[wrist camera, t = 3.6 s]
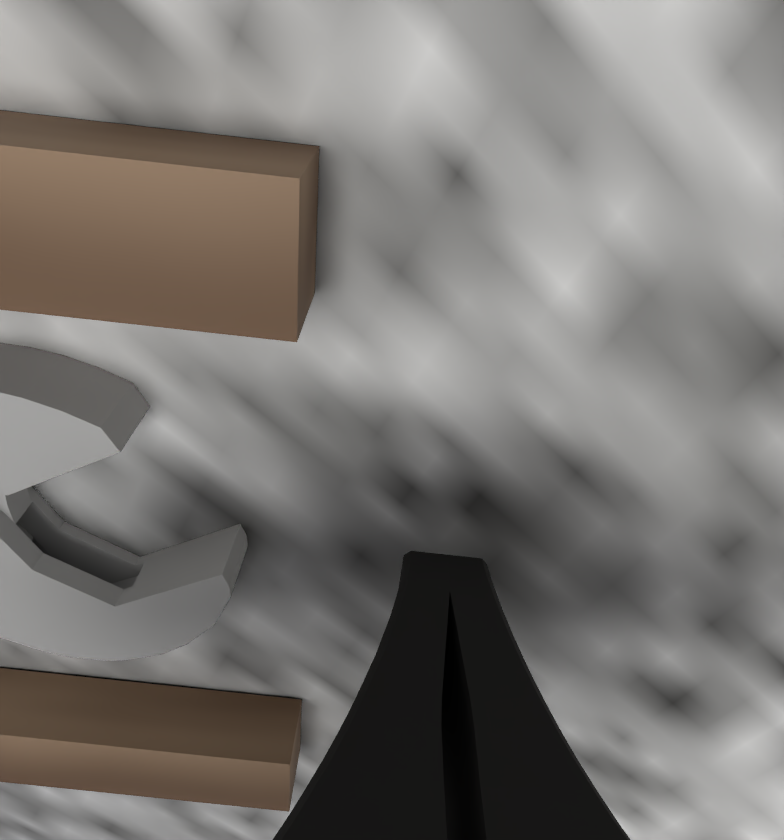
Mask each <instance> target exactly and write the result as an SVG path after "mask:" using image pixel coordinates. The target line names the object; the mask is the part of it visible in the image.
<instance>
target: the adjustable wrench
mask: <svg viewBox="0 0 784 840" xmlns="http://www.w3.org/2000/svg"><path fill="white" fill-rule="evenodd" d="M149 407H150V405H149V404H148V403H147V401H146V400H145V398H144V397H143V396H142V394H141V393H140V392H139V390H138V389H137V388H136V386H135V385H134V384H133V383H132V382H130V381H127V380H125V379H123V378H121V377H119V376H116V375H114V374H112V373H110V372H107V371H105V370H103V369H101V368H98V367H96V366H93V365H90V364H87V363H84V362H81V361H78V360H75V359H72V358H69V357H66V356H63V355H60V354H55V353H51V352H47V351H43V350H39V349H35V348H31V347H26V346H19V345H12V344H5V343H0V638H2V639H5V640H9V641H12V642H15V643H18V644H21V645H24V646H27V647H31V648H34V649H37V650H40V651H43V652H47V653H52V654H57V655H62V656H67V657H74V658H82V659H91V660H105V661H119V660H132V659H137V658H143V657H149V656H155V655H161V654H164V653H167V652H169V651H171V650H174V649H176V648H179V647H181V646H184V645H186V644H188V643H189V642H191V641H192V640H194V639H195V638H196V637H198V636H199V635H201V634H202V633H204V632H205V631H206V630H208V629H209V628H211V627H212V626H214V625H215V624H216V622H217V620H218V618H219V617H220V615H221V613H222V612H223V610H224V608H225V606H226V605H227V603H228V601H229V599H230V598H231V595H232V592H233V589H234V586H235V583H236V580H237V577H238V574H239V571H240V568H241V565H242V562H243V559H244V556H245V553H246V550H247V547H248V542H247V535H246V533H245V531H244V529H243V528H242V526H241V524H238V525H235V526H232V527H229V528H225V529H222V530H219V531H216V532H213V533H210V534H207V535H204V536H201V537H198V538H195V539H192V540H189V541H186V542H183V543H180V544H177V545H174V546H171V547H168V548H165V549H162V550H159V551H156V552H153V553H150V554H147V555H144V556H141V557H139V556H137V555H135V554H133V553H131V552H129V551H126V550H124V549H122V548H120V547H118V546H116V545H114V544H111V543H109V542H107V541H105V540H103V539H101V538H99V537H96V536H94V535H92V534H90V533H88V532H86V531H83V530H81V529H79V528H77V527H75V526H73V525H71V524H68V523H66V522H64V521H63V520H62V519H61V517H60V516H59V515H58V514H57V513H56V512H55V511H54V510H53V509H52V508H51V506H50V505H49V504H48V503H47V502H46V501H45V500H44V499H43V498H42V497H41V496H40V494H39V493H38V492H37V491H36V490H35V489H34V488H33V487H32V486H34V485H36V484H39V483H41V482H44V481H47V480H49V479H52V478H55V477H57V476H60V475H62V474H65V473H68V472H70V471H73V470H75V469H78V468H81V467H83V466H86V465H89V464H91V463H94V462H96V461H99V460H102V459H104V458H107V457H109V456H112V455H115V454H117V453H120V452H121V451H122V449H123V447H124V446H125V444H126V443H127V441H128V440H129V438H130V437H131V435H132V434H133V432H134V430H135V429H136V427H137V426H138V424H139V423H140V421H141V420H142V418H143V417H144V415H145V413H146V412H147V410H148V409H149Z"/></svg>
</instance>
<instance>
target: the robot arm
mask: <svg viewBox="0 0 784 840" xmlns="http://www.w3.org/2000/svg"><path fill="white" fill-rule="evenodd" d="M273 840H630V838H629V837H628V836H627V834H626V833H625V832H624V830H623V829H622V827H621V826H620V825H619V823H618V822H617V820H616V819H615V817H614V816H613V814H612V813H611V811H610V810H609V808H608V807H607V805H606V804H605V802H604V801H603V799H602V798H601V796H600V795H599V793H598V792H597V790H596V789H595V787H594V785H593V784H592V782H591V781H590V779H589V777H588V776H587V774H586V772H585V771H584V769H583V768H582V766H581V764H580V763H579V761H578V760H577V758H576V756H575V755H574V753H573V751H572V750H571V748H570V746H569V744H568V743H567V741H566V739H565V737H564V736H563V734H562V732H561V730H560V729H559V727H558V725H557V723H556V721H555V719H554V718H553V716H552V714H551V712H550V710H549V708H548V706H547V705H546V703H545V701H544V699H543V697H542V695H541V693H540V691H539V689H538V687H537V685H536V683H535V681H534V679H533V677H532V675H531V673H530V671H529V669H528V667H527V664H526V662H525V660H524V658H523V656H522V654H521V652H520V650H519V647H518V645H517V643H516V641H515V639H514V636H513V634H512V632H511V629H510V627H509V624H508V622H507V620H506V617H505V615H504V612H503V610H502V607H501V605H500V602H499V599H498V597H497V594H496V591H495V588H494V586H493V583H492V580H491V577H490V573H489V570H488V567H487V564H486V563H485V562H484V561H483V559H481V558H471V557H462V556H453V555H444V554H434V553H425V552H416V551H410V552H409V553H407V554H405V555H404V557H403V564H402V570H401V577H400V584H399V589H398V593H397V597H396V600H395V603H394V606H393V610H392V613H391V616H390V619H389V621H388V624H387V627H386V629H385V632H384V634H383V637H382V640H381V642H380V645H379V648H378V650H377V653H376V655H375V657H374V660H373V662H372V664H371V666H370V669H369V671H368V673H367V675H366V677H365V679H364V682H363V684H362V686H361V688H360V690H359V692H358V695H357V697H356V699H355V701H354V703H353V705H352V707H351V709H350V711H349V713H348V715H347V717H346V719H345V721H344V722H343V724H342V726H341V728H340V730H339V732H338V734H337V736H336V737H335V739H334V741H333V743H332V745H331V746H330V748H329V750H328V752H327V754H326V755H325V757H324V759H323V761H322V762H321V764H320V766H319V767H318V769H317V771H316V772H315V774H314V776H313V777H312V779H311V781H310V782H309V784H308V786H307V787H306V789H305V791H304V792H303V794H302V796H301V797H300V799H299V800H298V802H297V804H296V805H295V807H294V808H293V810H292V812H291V813H290V815H289V816H288V818H287V819H286V821H285V822H284V824H283V825H282V827H281V828H280V830H279V831H278V833H277V834H276V836H275V837H274V839H273Z"/></svg>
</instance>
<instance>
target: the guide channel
mask: <svg viewBox="0 0 784 840" xmlns="http://www.w3.org/2000/svg"><path fill="white" fill-rule="evenodd" d="M318 173H319V146H311V145H303V144H294V143H285V142H276V141H267V140H258V139H249V138H240V137H232V136H223V135H214V134H205V133H196V132H187V131H178V130H170V129H161V128H152V127H143V126H134V125H125V124H116V123H107V122H99V121H90V120H81V119H72V118H63V117H54V116H45V115H36V114H28V113H19V112H10V111H1V110H0V309H1V310H10V311H19V312H28V313H37V314H46V315H55V316H64V317H73V318H83V319H92V320H101V321H110V322H119V323H128V324H137V325H146V326H155V327H164V328H174V329H183V330H192V331H201V332H210V333H219V334H228V335H237V336H246V337H256V338H265V339H274V340H283V341H292V342H297V340H298V338H299V335H300V332H301V329H302V327H303V324H304V321H305V318H306V315H307V313H308V310H309V307H310V304H311V302H312V299H313V296H314V293H315V267H316V235H317V204H318ZM301 706H302V700H300V699H291V698H281V697H272V696H262V695H253V694H243V693H234V692H224V691H215V690H205V689H195V688H186V687H176V686H167V685H157V684H148V683H138V682H129V681H119V680H109V679H100V678H90V677H81V676H71V675H62V674H52V673H43V672H33V671H24V670H14V669H4V668H0V782H9V783H18V784H28V785H38V786H47V787H57V788H67V789H77V790H86V791H96V792H106V793H115V794H125V795H135V796H144V797H154V798H164V799H174V800H183V801H193V802H203V803H212V804H222V805H232V806H242V807H251V808H261V809H271V810H280V811H289V810H290V804H291V798H292V792H293V786H294V780H295V775H296V769H297V763H298V757H299V751H300V737H301Z"/></svg>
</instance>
